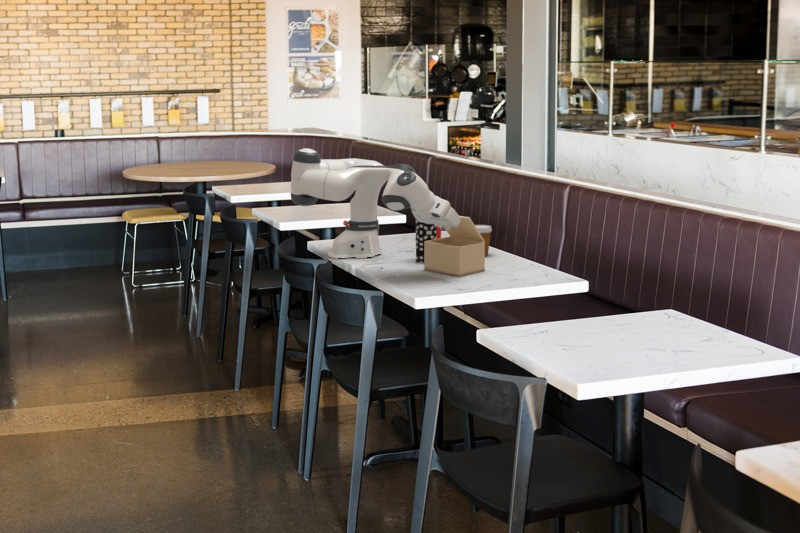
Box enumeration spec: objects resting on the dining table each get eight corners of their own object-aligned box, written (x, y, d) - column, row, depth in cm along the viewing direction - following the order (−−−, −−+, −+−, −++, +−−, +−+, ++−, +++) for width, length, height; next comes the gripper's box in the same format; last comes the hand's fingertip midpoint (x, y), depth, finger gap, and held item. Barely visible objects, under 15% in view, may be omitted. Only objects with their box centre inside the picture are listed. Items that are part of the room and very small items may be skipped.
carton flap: (469, 218, 356) (469, 217, 357) (435, 213, 368) (436, 212, 369) (483, 241, 364) (484, 240, 364) (450, 236, 376) (451, 235, 376)
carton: (459, 276, 357) (459, 247, 354) (424, 269, 369) (424, 241, 367) (484, 270, 366) (484, 242, 364) (449, 264, 379) (449, 236, 376)
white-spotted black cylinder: (422, 258, 391) (422, 209, 387) (440, 260, 387) (440, 210, 383) (412, 262, 384) (411, 211, 380) (430, 264, 380) (430, 213, 376)
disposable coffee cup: (493, 253, 398) (493, 225, 396) (489, 258, 389) (489, 228, 387) (470, 252, 401) (471, 224, 398) (466, 257, 392) (466, 228, 390)
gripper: (403, 209, 358) (422, 232, 367) (443, 215, 344) (462, 239, 353) (411, 196, 361) (430, 219, 369) (452, 201, 346) (470, 225, 355)
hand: (446, 229), depth 361 cm, fingers closed
